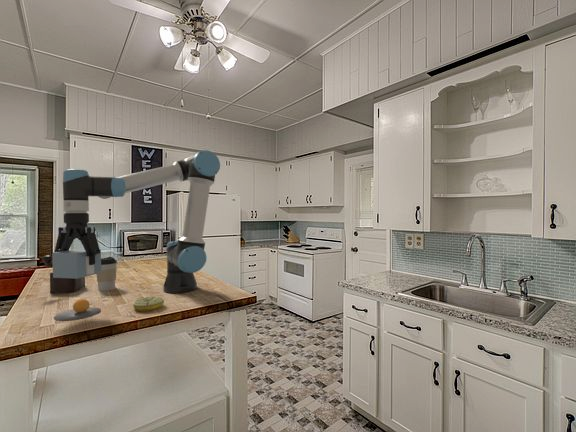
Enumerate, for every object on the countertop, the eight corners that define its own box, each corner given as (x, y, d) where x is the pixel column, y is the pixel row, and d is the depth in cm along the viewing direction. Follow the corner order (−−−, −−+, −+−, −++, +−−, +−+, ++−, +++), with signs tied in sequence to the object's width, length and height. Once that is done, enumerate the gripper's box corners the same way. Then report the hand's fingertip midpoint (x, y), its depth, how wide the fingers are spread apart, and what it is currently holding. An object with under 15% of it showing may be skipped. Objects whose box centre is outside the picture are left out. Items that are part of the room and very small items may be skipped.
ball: (78, 310, 107) (88, 315, 111) (85, 297, 110) (95, 301, 114) (67, 309, 108) (77, 314, 112) (74, 296, 111) (84, 300, 115)
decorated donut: (150, 303, 123) (150, 294, 123) (169, 306, 118) (169, 296, 118) (127, 310, 114) (127, 300, 114) (147, 314, 109) (147, 304, 109)
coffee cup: (110, 291, 141) (109, 259, 141) (91, 291, 142) (90, 259, 141) (121, 286, 151) (120, 256, 150) (103, 286, 151) (103, 256, 151)
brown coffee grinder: (62, 287, 149) (61, 251, 149) (86, 287, 150) (85, 251, 150) (39, 296, 133) (39, 256, 133) (66, 295, 135) (66, 255, 134)
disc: (109, 308, 115) (109, 308, 115) (76, 322, 101) (76, 321, 101) (79, 306, 118) (79, 306, 118) (43, 319, 104) (43, 318, 104)
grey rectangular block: (101, 272, 114) (100, 249, 114) (77, 278, 104) (76, 253, 104) (78, 271, 116) (78, 249, 116) (53, 277, 106) (52, 252, 106)
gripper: (40, 212, 108) (42, 274, 108) (94, 212, 103) (95, 276, 104) (60, 212, 115) (61, 270, 116) (111, 212, 111) (112, 272, 111)
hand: (77, 273), depth 110 cm, fingers closed on grey rectangular block, 10 cm apart
